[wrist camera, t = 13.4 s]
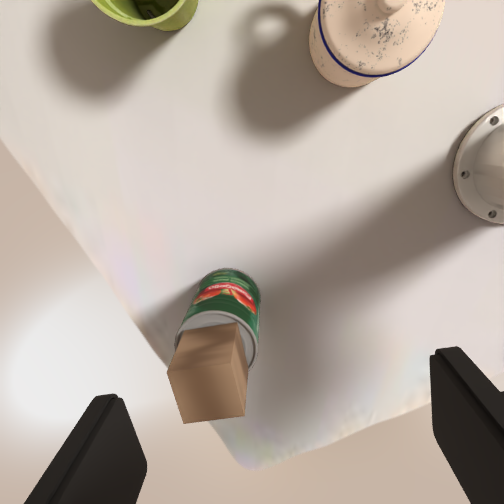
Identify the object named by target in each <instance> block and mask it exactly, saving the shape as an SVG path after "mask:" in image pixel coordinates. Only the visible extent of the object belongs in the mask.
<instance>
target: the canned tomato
mask: <svg viewBox="0 0 504 504" xmlns="http://www.w3.org/2000/svg"><path fill="white" fill-rule="evenodd" d="M260 302H261V295H260V290H259V288H258V285H257V284H256V282H255V281H254V279H253V278H252V277H250V276H249V275H248V274H246V273H245V272H243V271H241V270H238V269H233V268H222V269H218V270H215V271H213V272H211V273H209V274H208V275H207V276H206V277H205V278H204V279H203V280H202V281H201V283H200V285H199V287H198V290H197V292H196V294H195V296H194V299H193V301H192V303H191V305H190V307H189V309H188V311H187V313H186V316H185V318H184V320H183V322H182V325H181V327H180V328H179V330H178V332H177V335H176V338H175V352H176V349H177V347H178V345H179V342H180V340H181V338H182V335H183V333H184V331H185V330H190V329H197V328H203V327H209V326H216V325H222V324H228V323H235V322H237V323H238V327H239V331H240V335H241V339H242V343H243V348H244V352H245V356H246V360H247V364H248V372H249V371H250V369H251V368H252V367H253V365H254V363H255V361H256V359H257V354H258V334H259V315H260Z"/></svg>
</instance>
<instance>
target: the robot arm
mask: <svg viewBox="0 0 504 504" xmlns="http://www.w3.org/2000/svg"><path fill="white" fill-rule="evenodd" d="M490 119H491V122H490ZM462 172H463V175H462V176H461V173H462ZM453 180H454V186H455V190H456V193H457V195H458V197H459V199H460V201H461V202H462V203H463V205H464V206H465V207H466V208H467V209H468V210H469V211H470V212H471V213H473V214H474V215H476V216H478V217H480V218H482V219H484V220H487V221H490V222H494V223H499V224H504V104H502V105H499V106H498V107H496V108H494V109H493V110H491V111H489V112H488V113H486V114H485V115H484V116H483V117H482V118H481V119H479V120H478V121H477V122H476V123H475V124H474V125H473V127H472V128H471V129H470V130H469V131H468V133H467V134H466V136H465V137H464V139H463V141H462V142H461V144H460V147H459V149H458V151H457V154H456V157H455V162H454V166H453ZM430 381H431V403H432V423H433V424H432V425H433V432H434V436H435V438H436V441H437V443H438V445H439V447H440V448H441V450H442V452H443V454H444V456H445V457H446V459H447V461H448V463H449V464H450V466H451V468H452V470H453V472H454V474H455V476H456V477H457V479H458V481H459V483H460V485H461V486H462V488H463V490H464V491H465V494H466V495H467V497H468V499H469V501H470V503H471V504H504V391H503V392H500V391H499V390H498V389H497V388H496V387H495V386H494V385H493V384H492V382H491V381H490V380H489V379H488V378H487V377H486V376H485V375H484V374H483V372H482V371H481V370H480V369H479V368H478V367H477V366H476V365H475V364H474V363H473V361H472V360H471V359H470V358H469V357H468V356H467V355H466V354H465V353H464V352H463V350H462V349H461V348H459V347H457V346H456V347H448V348H441V349H437V350H436V351H435V355H431V356H430ZM146 473H147V461H146V458H145V456H144V453H143V450H142V448H141V445H140V443H139V440H138V437H137V435H136V432H135V430H134V427H133V424H132V422H131V419H130V416H129V414H128V411H127V409H126V406H125V403H124V401H123V399H122V398H118V396H117V395H116V394H107V395H100V396H96V397H95V398H94V399H93V400H92V402H91V403H90V404H89V406H88V407H87V409H86V411H85V412H84V413H83V415H82V417H81V418H80V420H79V421H78V423H77V424H76V426H75V427H74V429H73V430H72V432H71V433H70V435H69V436H68V438H67V439H66V441H65V442H64V444H63V445H62V447H61V448H60V450H59V451H58V453H57V454H56V456H55V457H54V459H53V461H52V462H51V463H50V465H49V466H48V468H47V470H46V471H45V472H44V474H43V475H42V477H41V479H40V480H39V482H38V483H37V485H36V486H35V488H34V489H33V491H32V492H31V494H30V495H29V497H28V498H27V500H26V501H25V503H24V504H136V501H137V498H138V495H139V493H140V490H141V487H142V485H143V482H144V479H145V476H146Z"/></svg>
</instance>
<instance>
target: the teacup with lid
mask: <svg viewBox="0 0 504 504" xmlns="http://www.w3.org/2000/svg"><path fill="white" fill-rule="evenodd" d="M444 4H445V0H319V4H318V8H317V11H316V13H315V16H314V18H313V21H312V24H311V28H310V34H309V48H310V54H311V57H312V60H313V63H314V65H315V67H316V68H317V70H318V71H319V72H320V74H321V75H322V76H323V77H324V78H325V79H327V80H328V81H330V82H331V83H333V84H335V85H338V86H342V87H358V86H362V85H365V84H368V83H370V82H372V81H374V80H376V79H378V78H380V77H383V76H388V75H391V74H394V73H396V72H399V71H400V70H402V69H404V68H406V67H407V66H409V65H410V64H411V63H413V62H414V61H415V60H416V59H417V58H418V57H419V56H420V55H421V54H422V53H423V52H424V51H425V50H426V48H427V47H428V46H429V44H430V43H431V41H432V39H433V37H434V36H435V34H436V32H437V29H438V27H439V24H440V21H441V18H442V15H443V11H444Z"/></svg>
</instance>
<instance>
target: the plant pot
mask: <svg viewBox="0 0 504 504" xmlns="http://www.w3.org/2000/svg"><path fill="white" fill-rule="evenodd" d="M91 1H92V2H93V4H94V5H95V6H96V7H97V8H99V9H100V10H101V11H102V12H103V13H105V14H106V15H108V16H109V17H111V18H113V19H115V20H117V21H119V22H121V23H124V24H127V25H131V26H139V27H145V26H152V27H154V28H157V29H159V30H163V31H172V30H177V29H180V28H182V27H184V26H185V25H186V24H187V23H188V22H189V21H190V20H191V19H192V17H193V15H194V13H195V11H196V8H197V5H198V0H91ZM147 10H150V12H151V13H152V14H153V15H154V16H155V17H157V18H154V19H152V18H151V17H150V16H149V15H148V13H147Z"/></svg>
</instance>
